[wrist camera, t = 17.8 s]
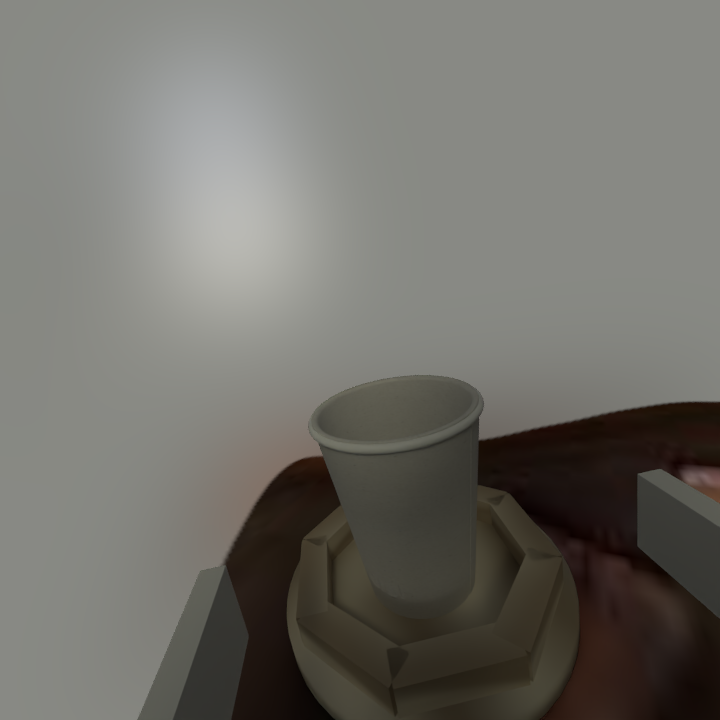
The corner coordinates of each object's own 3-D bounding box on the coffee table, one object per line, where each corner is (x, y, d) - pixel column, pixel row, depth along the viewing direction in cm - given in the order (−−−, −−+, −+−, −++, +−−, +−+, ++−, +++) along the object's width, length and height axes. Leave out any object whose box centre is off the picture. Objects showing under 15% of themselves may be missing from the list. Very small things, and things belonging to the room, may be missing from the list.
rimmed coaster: (493, 481, 28) (490, 452, 28) (672, 701, 14) (674, 650, 13) (299, 525, 28) (291, 496, 27) (274, 806, 13) (256, 757, 12)
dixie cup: (400, 505, 26) (376, 370, 24) (524, 548, 21) (510, 378, 18) (315, 595, 20) (271, 427, 18) (458, 688, 15) (423, 463, 12)
